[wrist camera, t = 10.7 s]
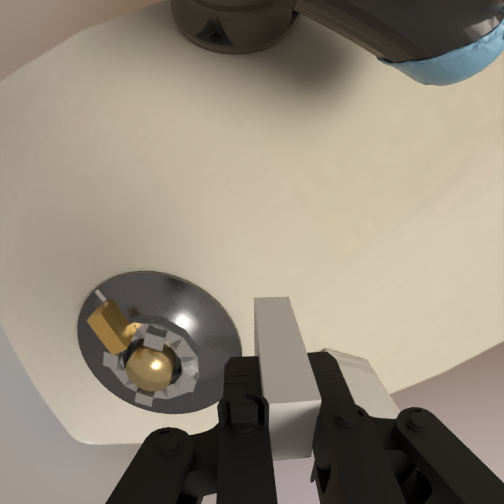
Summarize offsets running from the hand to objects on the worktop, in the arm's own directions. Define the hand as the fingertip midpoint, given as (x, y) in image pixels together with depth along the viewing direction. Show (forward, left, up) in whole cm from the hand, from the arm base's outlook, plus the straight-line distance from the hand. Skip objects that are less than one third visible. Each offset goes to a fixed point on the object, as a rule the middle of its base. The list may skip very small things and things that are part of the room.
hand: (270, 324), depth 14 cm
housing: (+11, -20, -24) cm, 33 cm away
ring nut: (+9, -20, -23) cm, 32 cm away
